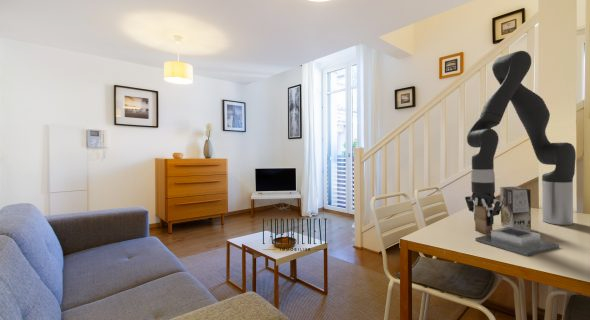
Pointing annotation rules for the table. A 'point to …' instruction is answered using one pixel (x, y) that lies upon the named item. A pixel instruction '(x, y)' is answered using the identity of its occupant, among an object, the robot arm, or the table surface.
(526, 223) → the coffee box
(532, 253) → the stepped grey base plate
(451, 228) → the table surface
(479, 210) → the brown rectangular block
